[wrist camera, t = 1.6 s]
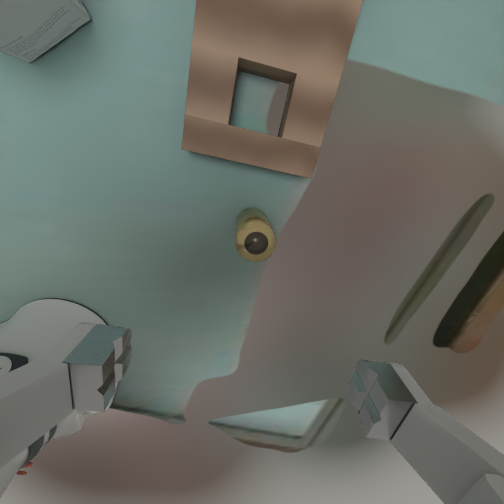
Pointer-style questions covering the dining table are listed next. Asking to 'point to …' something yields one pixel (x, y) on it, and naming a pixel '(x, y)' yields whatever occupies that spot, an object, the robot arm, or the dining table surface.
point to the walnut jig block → (267, 76)
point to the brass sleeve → (254, 235)
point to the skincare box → (37, 25)
